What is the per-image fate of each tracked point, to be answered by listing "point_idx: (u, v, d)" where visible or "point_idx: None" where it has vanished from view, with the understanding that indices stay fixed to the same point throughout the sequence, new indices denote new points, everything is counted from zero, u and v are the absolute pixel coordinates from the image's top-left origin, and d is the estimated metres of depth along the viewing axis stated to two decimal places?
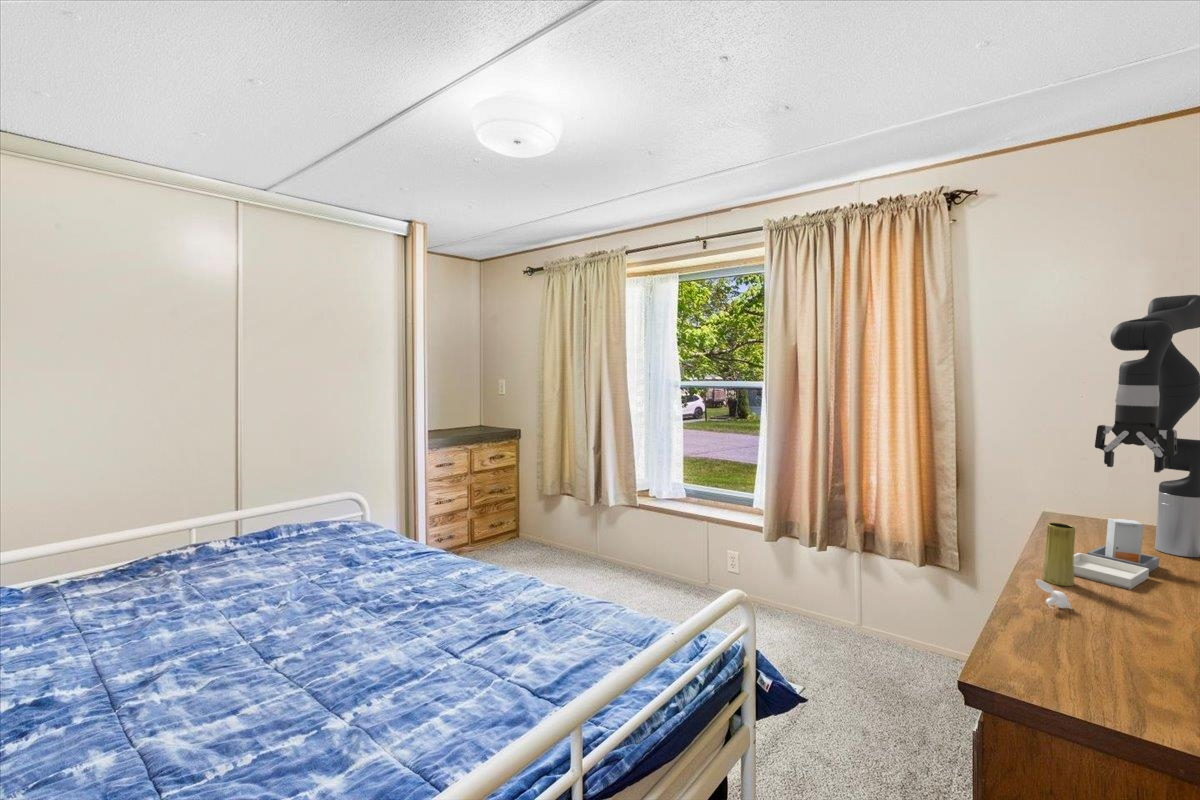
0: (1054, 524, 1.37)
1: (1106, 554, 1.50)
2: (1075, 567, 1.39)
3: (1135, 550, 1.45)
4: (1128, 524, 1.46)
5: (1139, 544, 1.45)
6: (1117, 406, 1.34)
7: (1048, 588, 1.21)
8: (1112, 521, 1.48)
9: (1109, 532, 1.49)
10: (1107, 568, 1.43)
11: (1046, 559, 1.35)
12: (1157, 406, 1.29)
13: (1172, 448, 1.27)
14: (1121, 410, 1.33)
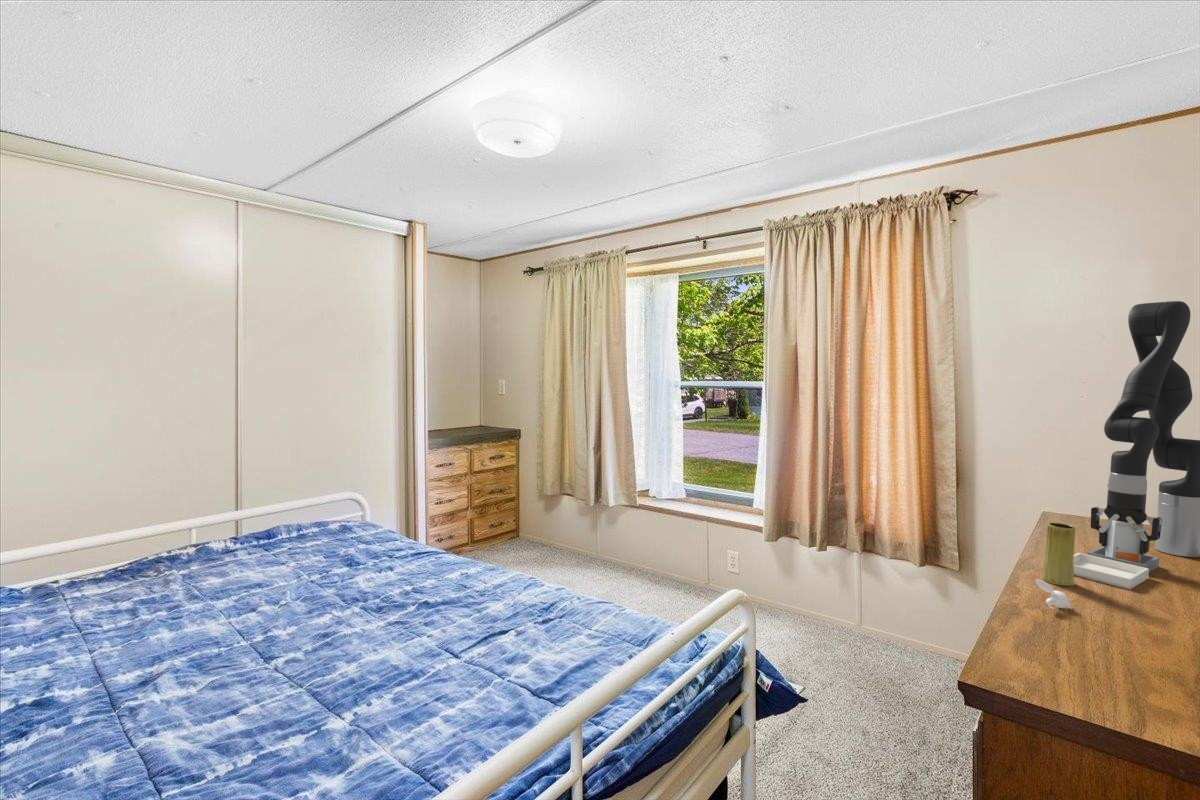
0: (1054, 524, 1.37)
1: (1106, 554, 1.50)
2: (1075, 567, 1.39)
3: (1135, 550, 1.45)
4: (1128, 524, 1.45)
5: (1139, 544, 1.45)
6: (1109, 491, 1.48)
7: (1048, 588, 1.21)
8: (1112, 521, 1.48)
9: (1110, 532, 1.49)
10: (1107, 568, 1.43)
11: (1046, 559, 1.35)
12: (1145, 494, 1.44)
13: (1156, 534, 1.41)
14: (1112, 496, 1.47)
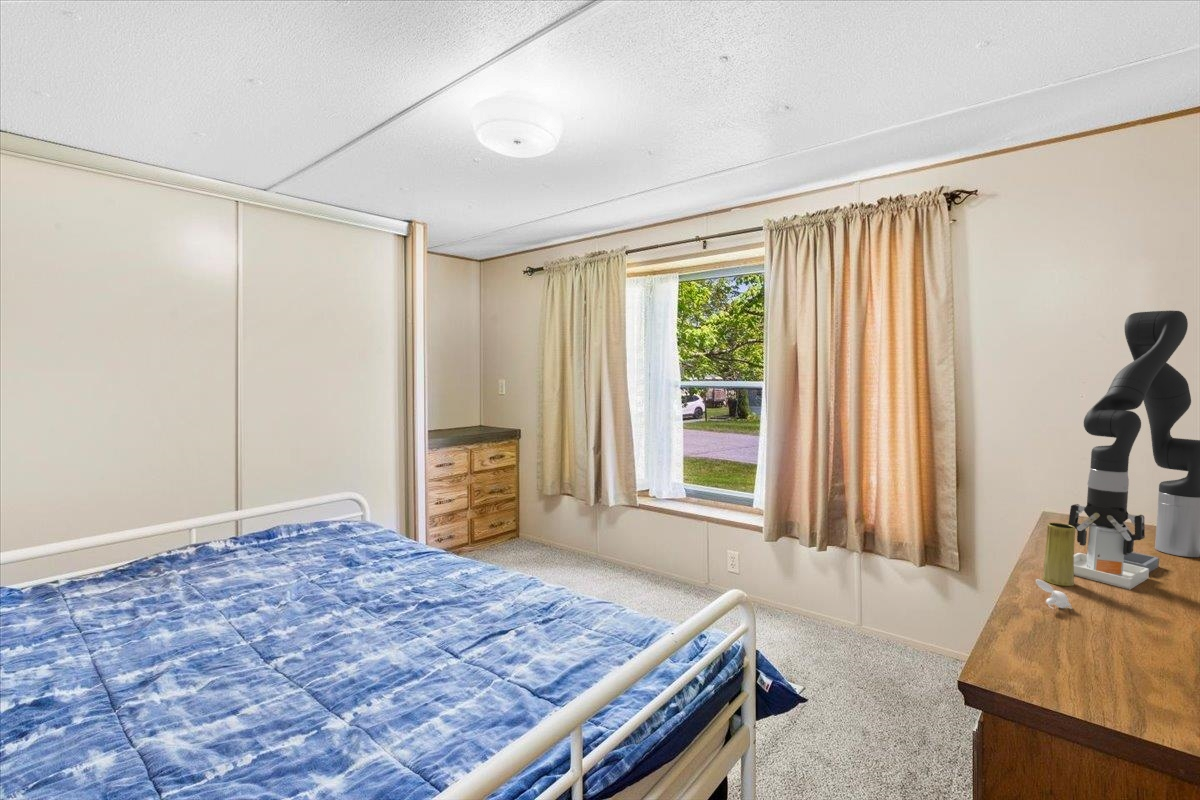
0: (1054, 524, 1.37)
1: (1087, 562, 1.42)
2: (1075, 567, 1.39)
3: (1117, 558, 1.37)
4: (1110, 530, 1.37)
5: (1122, 551, 1.37)
6: (1089, 489, 1.40)
7: (1048, 588, 1.21)
8: (1094, 527, 1.40)
9: (1091, 539, 1.41)
10: None
11: (1046, 559, 1.35)
12: (1126, 492, 1.36)
13: (1140, 533, 1.33)
14: (1092, 494, 1.39)
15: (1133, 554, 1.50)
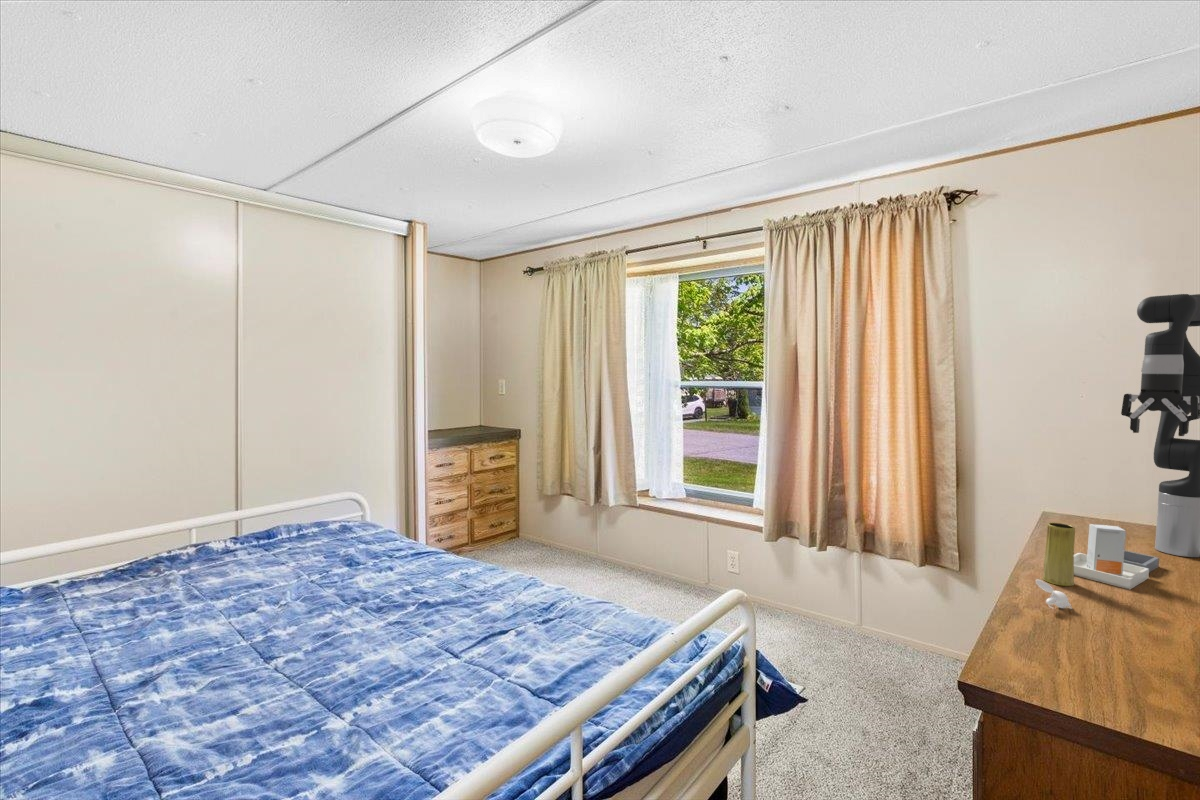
0: (1054, 524, 1.37)
1: (1087, 562, 1.42)
2: (1075, 567, 1.39)
3: (1117, 558, 1.37)
4: (1110, 530, 1.37)
5: (1122, 551, 1.37)
6: (1143, 375, 1.43)
7: (1048, 588, 1.21)
8: (1094, 527, 1.40)
9: (1091, 539, 1.41)
10: None
11: (1046, 559, 1.35)
12: (1181, 374, 1.38)
13: (1196, 412, 1.35)
14: (1147, 379, 1.41)
15: (1133, 554, 1.50)
